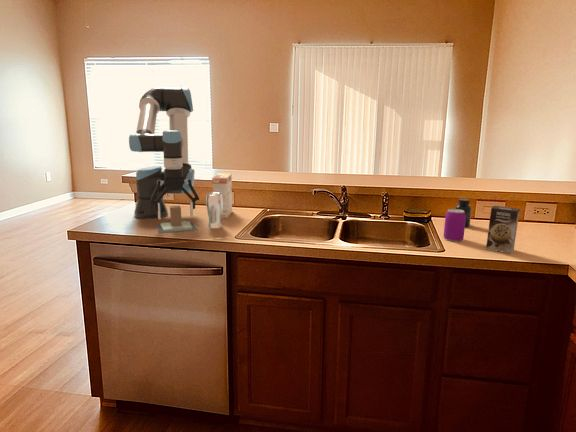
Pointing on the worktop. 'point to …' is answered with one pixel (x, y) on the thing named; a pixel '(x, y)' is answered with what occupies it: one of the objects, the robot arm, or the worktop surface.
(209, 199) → the beer glass
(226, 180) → the coffeecake box
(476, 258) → the worktop surface
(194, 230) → the mat
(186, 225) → the lid
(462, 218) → the beverage can
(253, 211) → the worktop surface
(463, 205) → the supplement bottle
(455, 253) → the worktop surface
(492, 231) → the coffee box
